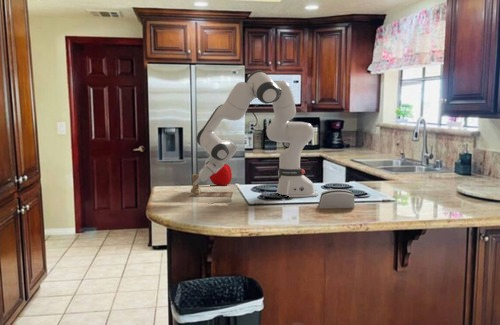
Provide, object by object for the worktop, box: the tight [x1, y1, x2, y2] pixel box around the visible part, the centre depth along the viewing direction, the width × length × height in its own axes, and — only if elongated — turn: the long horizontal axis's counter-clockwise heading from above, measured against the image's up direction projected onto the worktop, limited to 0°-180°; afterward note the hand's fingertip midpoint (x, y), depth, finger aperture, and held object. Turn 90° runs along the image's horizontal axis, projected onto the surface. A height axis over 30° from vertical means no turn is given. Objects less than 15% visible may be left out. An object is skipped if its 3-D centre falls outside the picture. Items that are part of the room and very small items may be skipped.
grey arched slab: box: [318, 188, 355, 209], centre depth 199 cm, size 17×5×10 cm, turn 92°
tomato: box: [208, 162, 233, 187], centre depth 256 cm, size 16×14×14 cm
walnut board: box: [188, 191, 234, 198], centre depth 224 cm, size 22×13×2 cm, turn 88°
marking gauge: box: [190, 173, 202, 195], centre depth 226 cm, size 4×6×10 cm
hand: (194, 183), depth 226 cm, fingers closed on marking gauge, 3 cm apart
